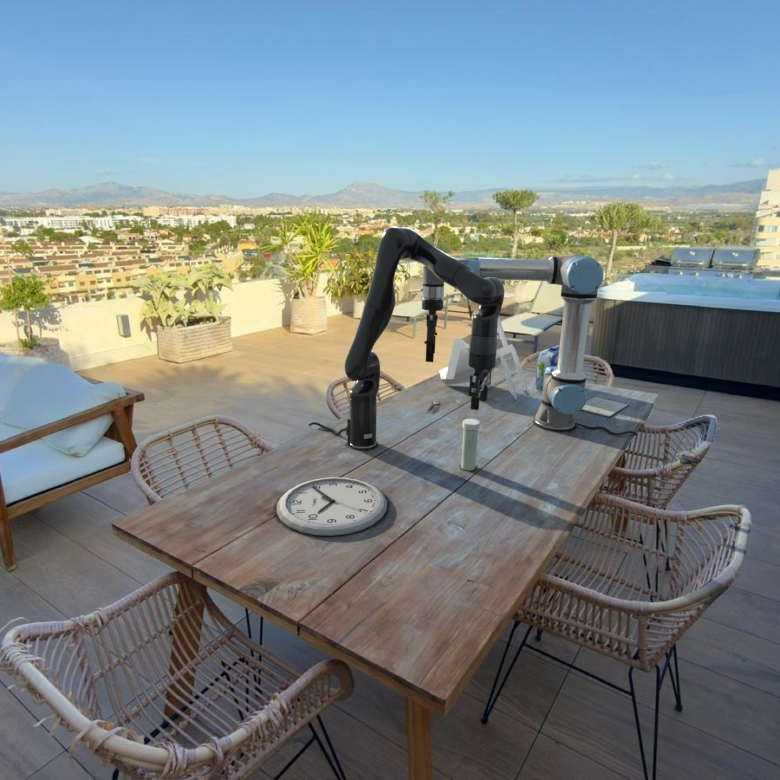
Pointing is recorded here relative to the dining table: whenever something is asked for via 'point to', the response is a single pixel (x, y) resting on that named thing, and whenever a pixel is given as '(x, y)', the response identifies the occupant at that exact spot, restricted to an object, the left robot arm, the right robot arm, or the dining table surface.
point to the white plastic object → (462, 371)
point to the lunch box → (546, 364)
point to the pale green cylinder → (469, 449)
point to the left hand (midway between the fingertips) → (478, 405)
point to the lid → (471, 424)
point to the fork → (434, 403)
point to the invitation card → (603, 406)
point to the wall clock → (331, 506)
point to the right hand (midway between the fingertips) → (430, 357)
